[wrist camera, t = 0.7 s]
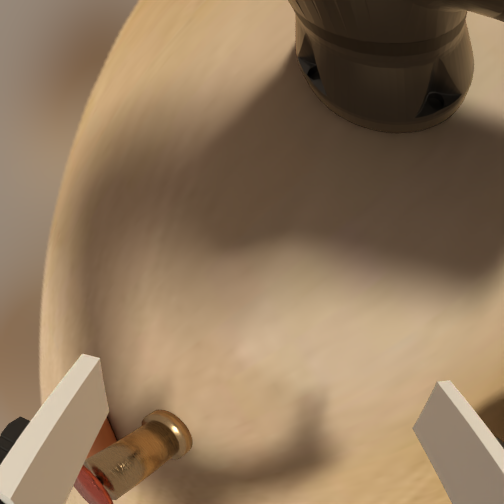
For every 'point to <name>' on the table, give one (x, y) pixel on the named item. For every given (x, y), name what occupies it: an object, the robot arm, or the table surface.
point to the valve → (133, 458)
